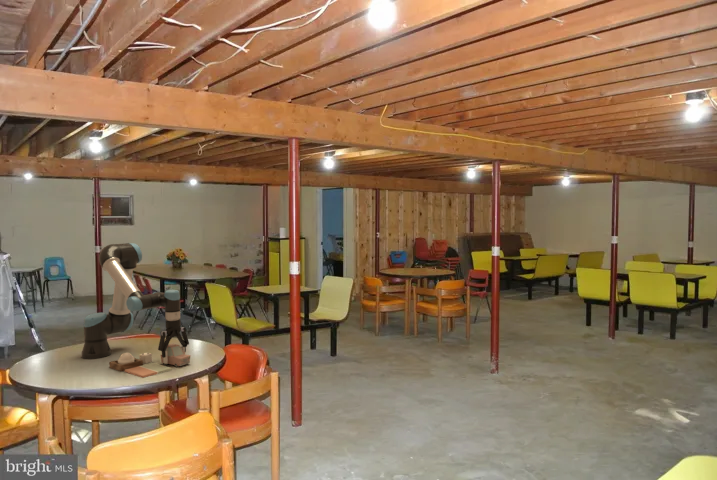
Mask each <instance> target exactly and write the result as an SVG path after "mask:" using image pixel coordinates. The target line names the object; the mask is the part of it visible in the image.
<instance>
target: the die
mask: <svg viewBox="0 0 717 480" xmlns="http://www.w3.org/2000/svg"><path fill="white" fill-rule="evenodd" d="M152 355H153V354H152V353H151V352H144V353H140V354H139V356H138V357H139V358H138V359H140V360H143V364H144V365H146V364H150V363H153V356H152Z"/></svg>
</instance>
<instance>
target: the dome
mask: <svg viewBox="0 0 717 480" xmlns="http://www.w3.org/2000/svg"><path fill="white" fill-rule="evenodd" d="M134 358H135V357H134V356H133V354H131V353H130V352H123V353H122V354H120V356H119V358H117V360H118V363H119V364H122V365H123V364H127V363H132V362H134Z"/></svg>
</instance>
